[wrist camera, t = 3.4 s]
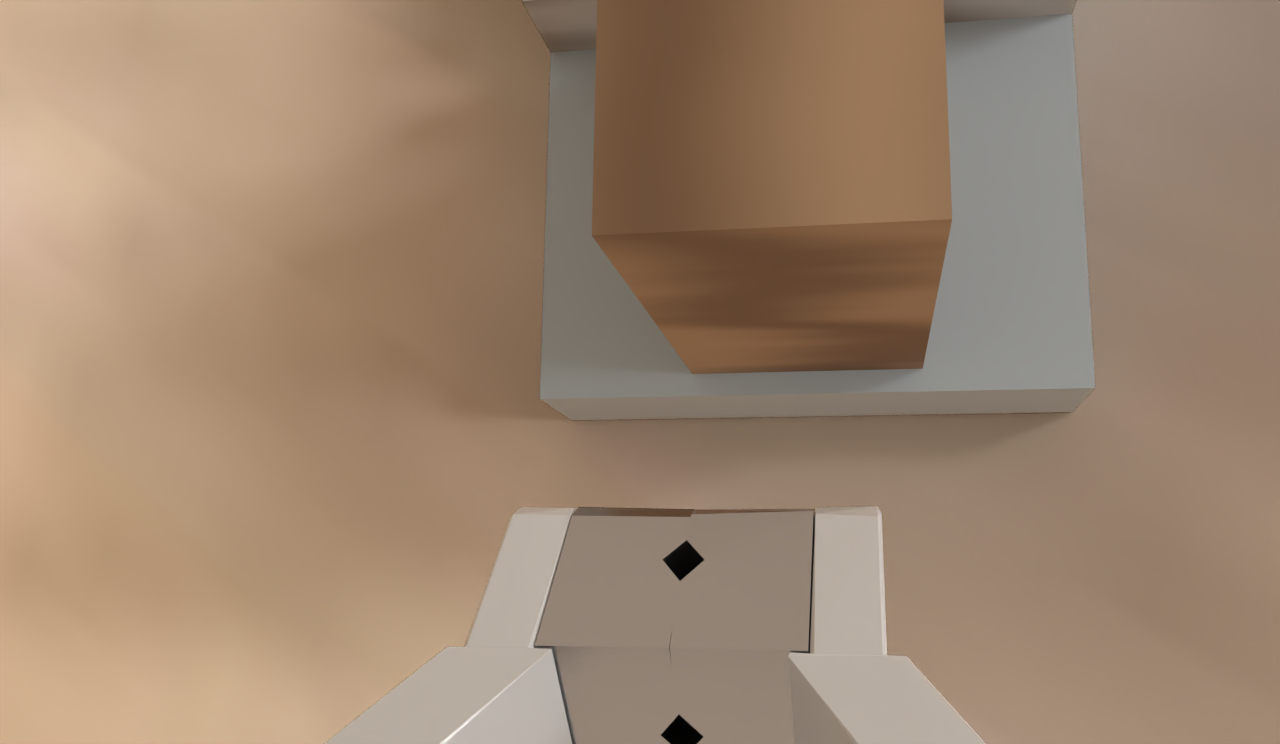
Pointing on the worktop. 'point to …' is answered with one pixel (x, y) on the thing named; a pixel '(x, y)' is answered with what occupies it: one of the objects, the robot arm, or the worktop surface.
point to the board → (970, 280)
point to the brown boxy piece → (775, 170)
